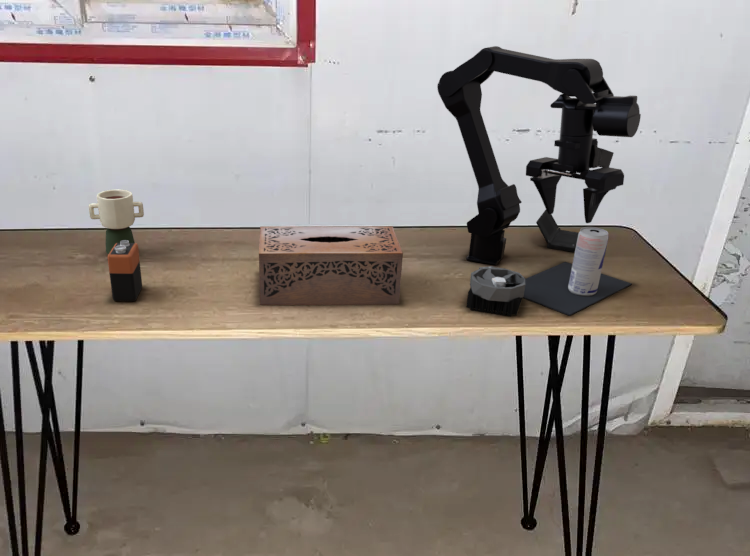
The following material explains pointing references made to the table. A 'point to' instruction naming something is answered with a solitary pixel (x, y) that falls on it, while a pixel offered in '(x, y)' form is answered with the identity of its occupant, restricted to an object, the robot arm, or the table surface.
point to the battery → (125, 271)
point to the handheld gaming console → (556, 234)
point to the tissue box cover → (329, 265)
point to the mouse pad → (566, 289)
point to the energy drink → (588, 261)
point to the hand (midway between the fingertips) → (569, 218)
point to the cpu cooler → (496, 290)
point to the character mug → (116, 215)
